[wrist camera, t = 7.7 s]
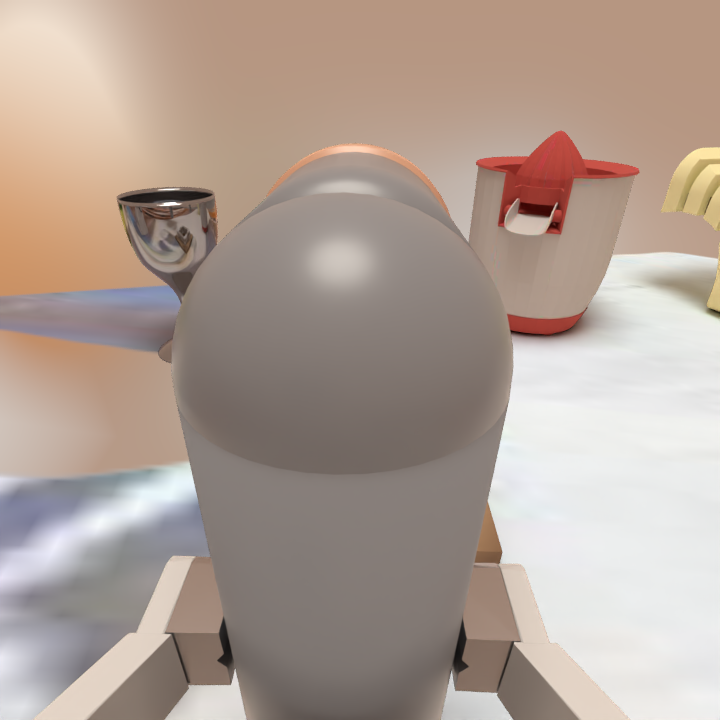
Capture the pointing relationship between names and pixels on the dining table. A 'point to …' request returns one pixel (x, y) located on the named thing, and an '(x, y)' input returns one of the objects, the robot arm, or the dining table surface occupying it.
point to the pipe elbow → (343, 435)
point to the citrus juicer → (548, 230)
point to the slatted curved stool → (698, 197)
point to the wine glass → (170, 234)
